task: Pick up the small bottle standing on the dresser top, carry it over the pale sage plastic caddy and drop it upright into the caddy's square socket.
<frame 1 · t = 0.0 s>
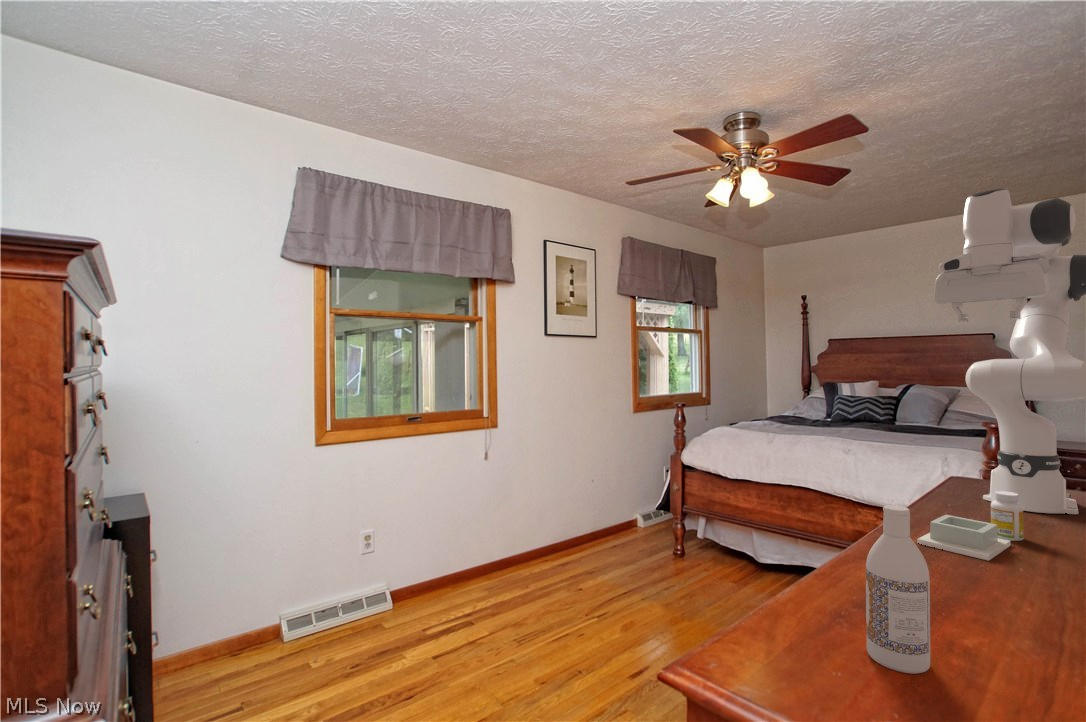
hand: (988, 320, 121), 48 cm above the dresser, tool pointing down, fingers open, 8 cm apart
supplement bottle: (1007, 538, 116), on the dresser
bath foam: (897, 661, 69), on the dresser
caddy: (963, 544, 111), on the dresser
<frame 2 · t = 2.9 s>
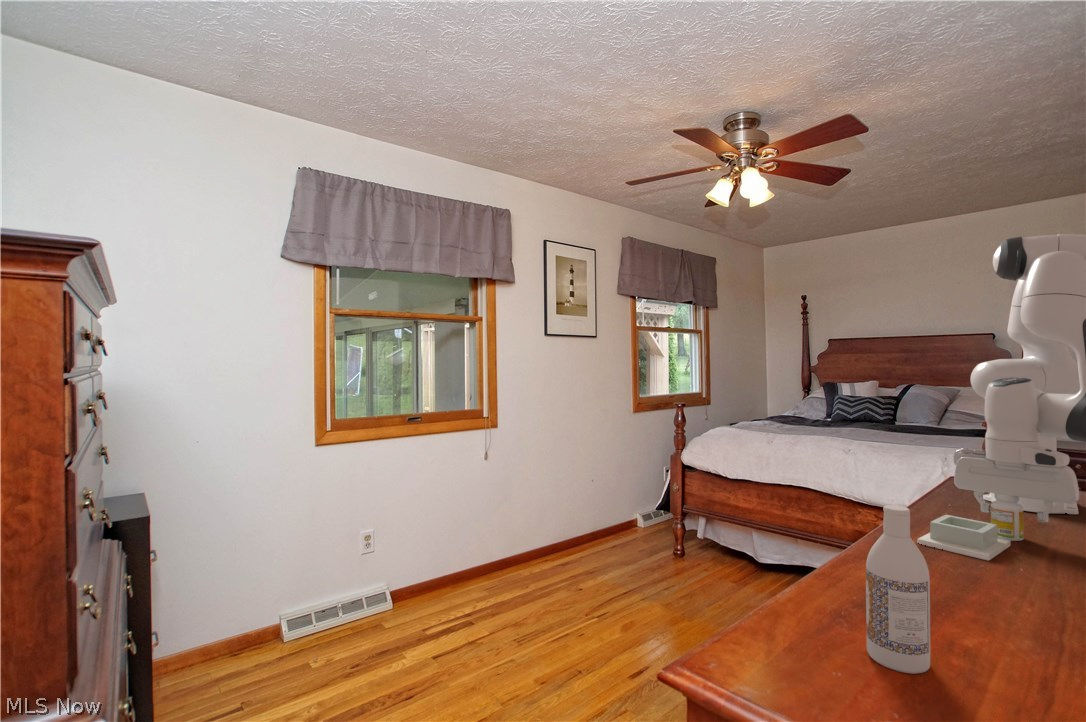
hand: (1013, 516, 115), 5 cm above the dresser, tool pointing down, fingers open, 8 cm apart
nothing on the dresser moved.
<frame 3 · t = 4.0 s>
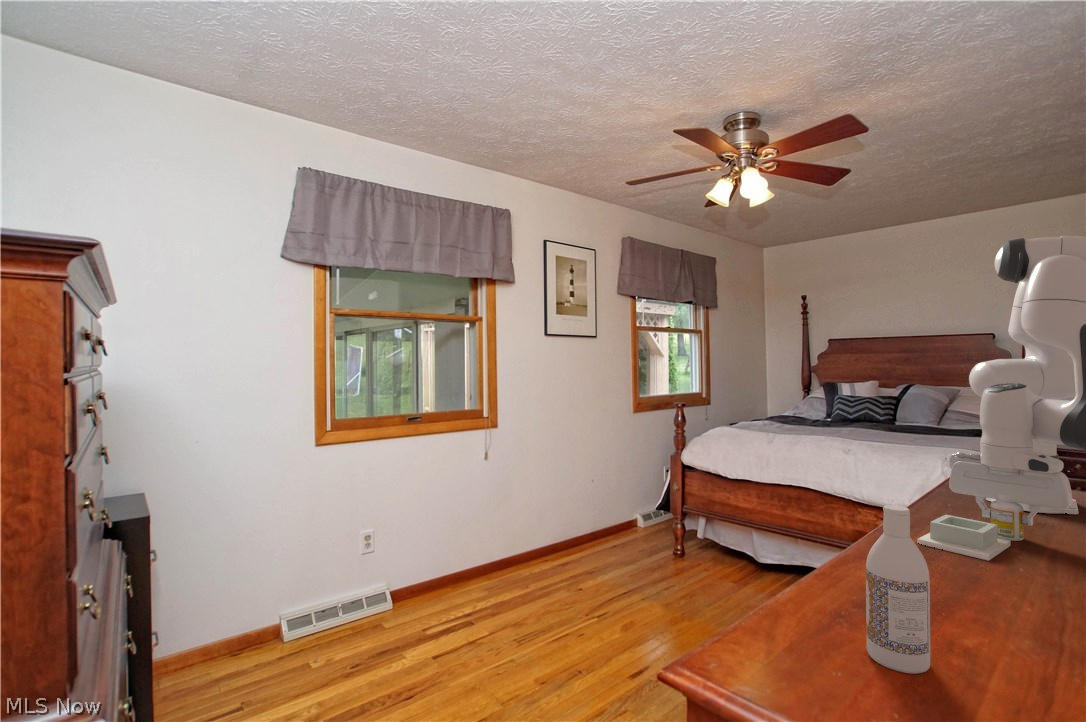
hand: (1006, 520, 116), 4 cm above the dresser, tool pointing down, fingers closed on supplement bottle, 5 cm apart
supplement bottle: (1007, 538, 116), on the dresser, touching gripper
everything else where it was.
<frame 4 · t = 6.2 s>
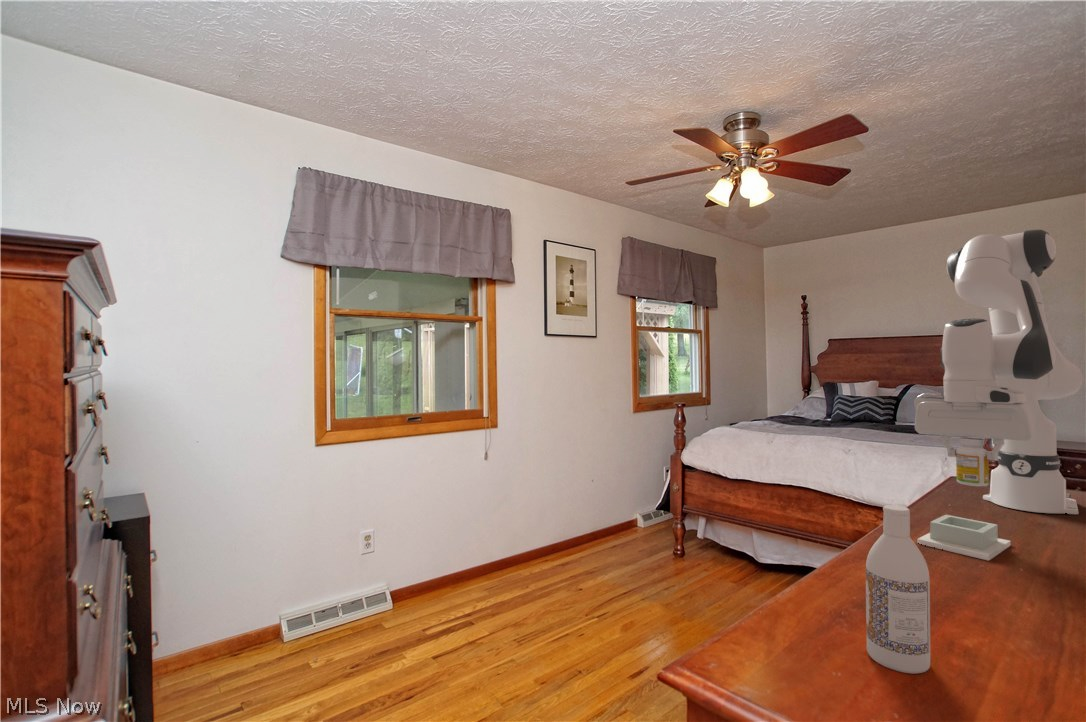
hand: (972, 458, 113), 18 cm above the dresser, tool pointing down, fingers closed on supplement bottle, 5 cm apart
supplement bottle: (972, 484, 113), point 12 cm above the dresser, touching gripper
everything else where it was.
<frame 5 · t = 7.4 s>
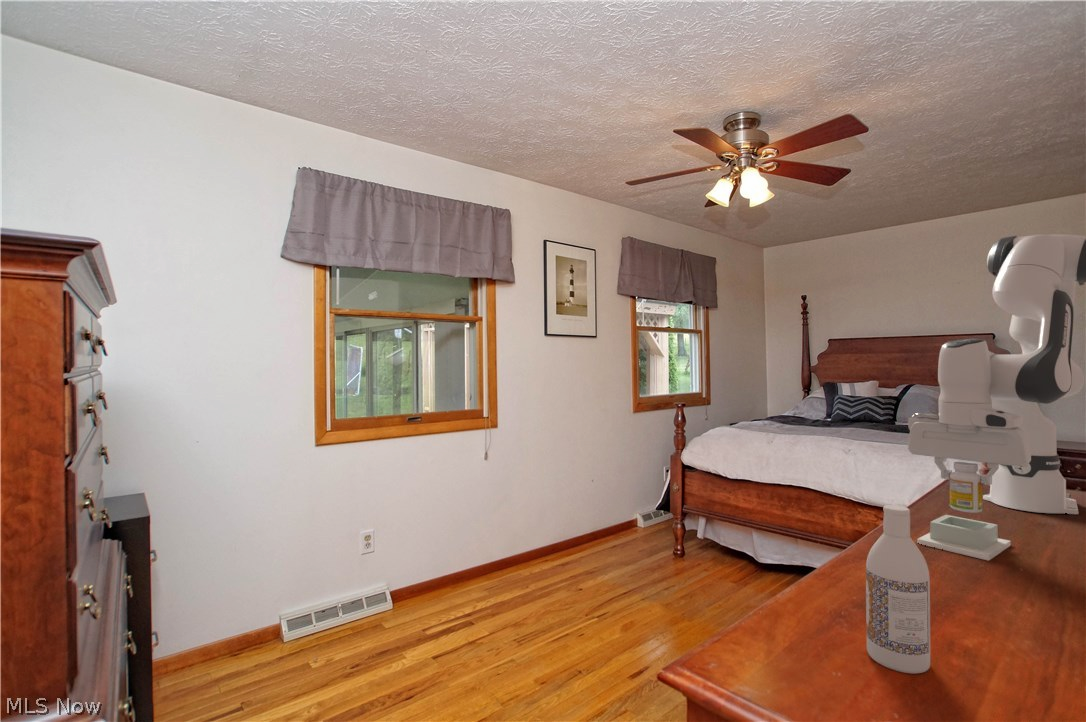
hand: (966, 481, 111), 13 cm above the dresser, tool pointing down, fingers closed on supplement bottle, 5 cm apart
supplement bottle: (966, 510, 111), point 7 cm above the dresser, touching gripper
everything else where it was.
when the fingers open (7 cm above the dresser, at t = 8.4 s): supplement bottle stays where it is, resting on caddy.
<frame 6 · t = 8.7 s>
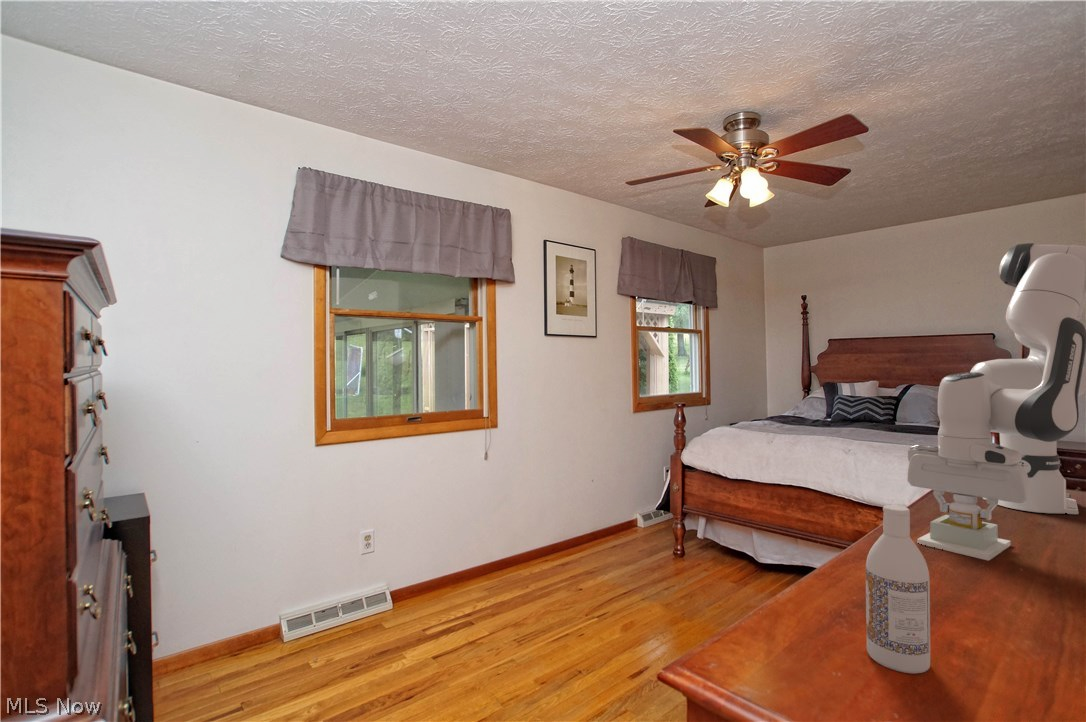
hand: (965, 515, 111), 6 cm above the dresser, tool pointing down, fingers open, 5 cm apart
supplement bottle: (965, 541, 111), point 1 cm above the dresser, touching caddy, gripper
everything else where it was.
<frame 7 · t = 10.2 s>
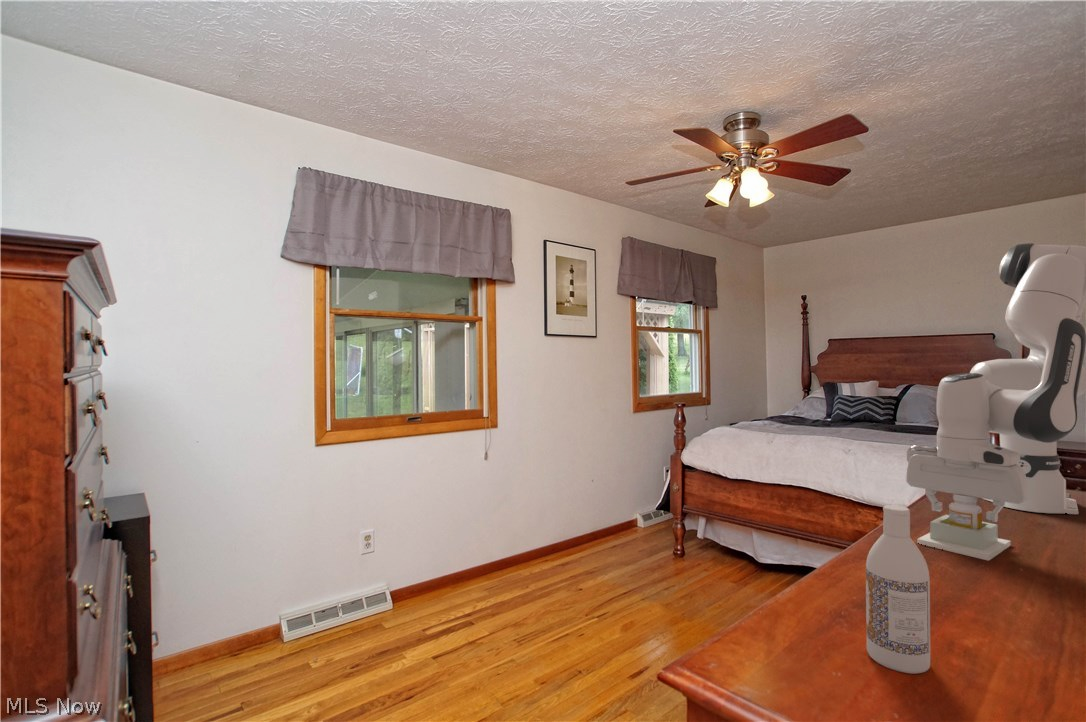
hand: (963, 515, 111), 6 cm above the dresser, tool pointing down, fingers open, 8 cm apart
supplement bottle: (965, 541, 111), point 1 cm above the dresser, touching caddy
everything else where it was.
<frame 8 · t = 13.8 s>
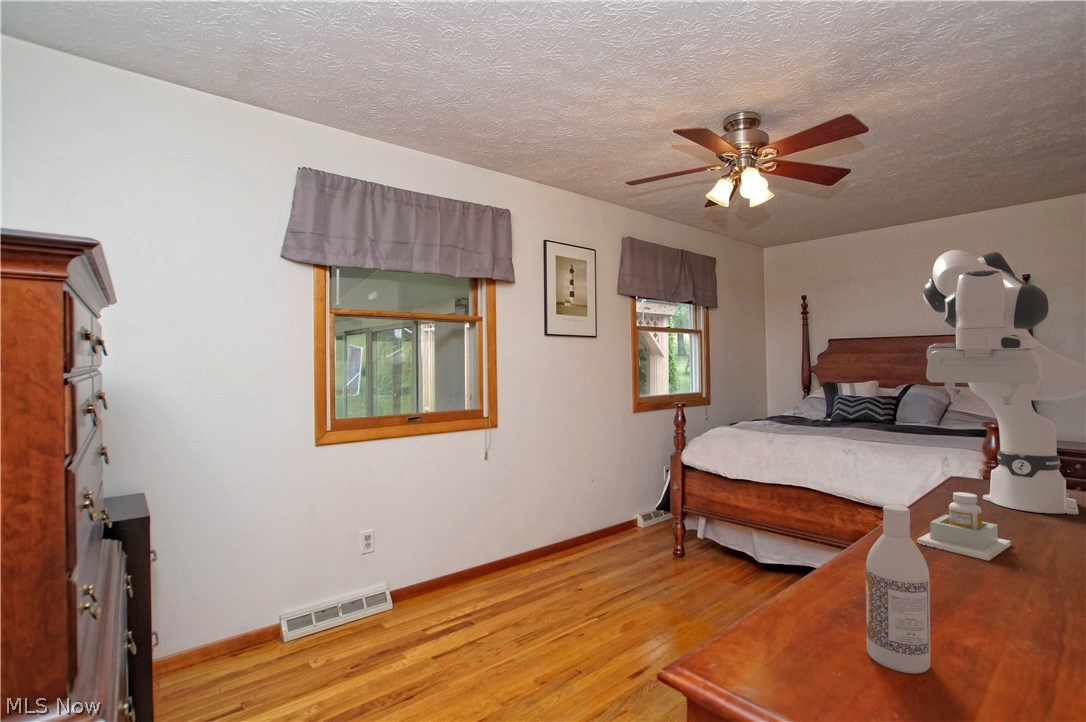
hand: (981, 403, 118), 29 cm above the dresser, tool pointing down, fingers open, 8 cm apart
nothing on the dresser moved.
at the end: supplement bottle 0.4 cm off-centre on the caddy, point 0.8 cm above the caddy's base; supplement bottle tilted 0°; the gripper is holding nothing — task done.
